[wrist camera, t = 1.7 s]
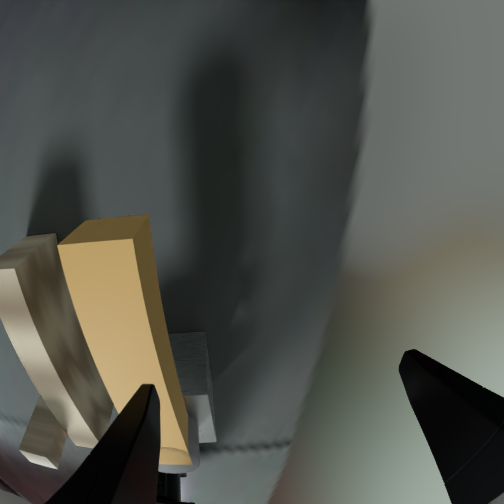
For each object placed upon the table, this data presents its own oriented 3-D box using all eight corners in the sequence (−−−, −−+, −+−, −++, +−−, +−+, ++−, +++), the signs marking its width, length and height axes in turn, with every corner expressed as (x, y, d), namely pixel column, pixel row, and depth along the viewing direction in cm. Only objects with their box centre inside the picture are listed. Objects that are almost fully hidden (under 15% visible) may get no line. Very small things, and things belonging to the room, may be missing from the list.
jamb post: (212, 381, 26) (216, 442, 19) (148, 384, 25) (140, 442, 19) (205, 331, 23) (207, 394, 17) (132, 334, 22) (116, 395, 16)
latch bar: (201, 439, 19) (203, 473, 16) (149, 439, 18) (146, 472, 15) (160, 213, 12) (147, 237, 9) (76, 221, 12) (46, 246, 9)
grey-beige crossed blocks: (114, 402, 25) (98, 485, 16) (65, 398, 25) (41, 472, 16) (55, 233, 18) (-23, 304, 9) (0, 239, 18) (-76, 301, 9)
